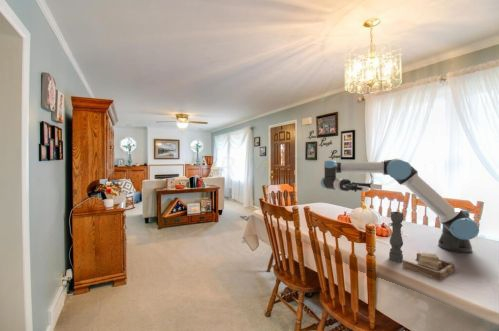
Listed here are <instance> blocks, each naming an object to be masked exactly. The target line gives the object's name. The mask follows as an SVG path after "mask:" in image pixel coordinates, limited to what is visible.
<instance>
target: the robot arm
mask: <svg viewBox="0 0 499 331" xmlns="http://www.w3.org/2000/svg"><path fill="white" fill-rule="evenodd" d="M323 169H324V177H322V178H321V181H320V185H321V187H322V188H323V189H327V190H334V191H335V190H336V191H338V192H340V191H344V192H349V191H354V193H355V192H357V191H359V192H366V193H368V192H369V191H370V190H369V189H372V190H373V189H374V190H382V189H383V185H382V184H379V183H378V184H377V183H372V182H370V183H369V182H353V181H352V182H351V180H350V179H348V178H345V179H344V178H340V177H339V178H337V174H382V175H384V176H390V177H391V178H392V179H394V180H395V181H396V182H397V183H398V184H399V185H400V186H405V187H406V188H407V189H408V190H409V191H411V192H412V194H414V195H415V197H417V198H418V199H419V200H420V201H421V202H422V203H423V204H424V205H425V206H426V207H428V209H430V210H431V211H432V212H433V213H434V214H435V215H436V216H437V217H438V218H439V222H440V224H442V226H441V227H442V228H441V230H442V232H441V234H440V237H439V239H438V242H437V244H438V247H440V248H442V249H445V250H448V251H451V252H457V253H464V254H465V253H467V254H468V253H469V254H470V253H472V251H473V246H472V244H471V241H470V240H473V239H475V238H476V237H477V236H478V235H479V233H480V228H479V224H477V222H476V221H475V220H473V219H472V218H470V212H469V210H466V209H461V208H455V207H454V206H453V205H451V204H450V203H449V202H448V201H447V200H446V199H445V198H443V196H442V195H440V193H438V192H437V191H436V190H435V189H433V188H432V187H431V186H430V184H428V183H427V182H426V181H424V179H423V178H421V177H420V176H419V171H418V170H417V169H416V168H415V167H413V166H412V165H411V164H410V162H408V161H407V160H406V159H402V158H393V159H385V160H384V159H383V160H382V161H356V162H355V161H353V162H352V161H351V162H349V161H348V162H347V161H345V162H344V161H343V162H337V161H336V160H333V159H331V160H327V159H326V160H325V161H324V168H323Z"/></svg>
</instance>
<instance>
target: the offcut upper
mask: <svg viewBox="0 0 499 331" xmlns="http://www.w3.org/2000/svg"><path fill="white" fill-rule="evenodd" d="M418 253H419V259H420V260H421V261H422V262H429V263H437V264H438V262H439V260H440V259H439V258H440V257H439V256H438V255H437V254H436V253H429V252H421V251H418Z"/></svg>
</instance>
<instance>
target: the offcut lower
mask: <svg viewBox="0 0 499 331" xmlns="http://www.w3.org/2000/svg"><path fill="white" fill-rule="evenodd" d="M418 265H420V266H423V267H426V268H429V269H432V270H435V271H438V270H440V269H441V268H443V267H442V262H440V261H439V262H438V264H437V263H429V262H422V261H421V260H420V259H419V260H418Z"/></svg>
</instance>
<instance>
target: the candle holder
mask: <svg viewBox="0 0 499 331" xmlns="http://www.w3.org/2000/svg"><path fill="white" fill-rule="evenodd" d="M390 220H391V224H390V225H391V226H392V228H391V229H392V232H391V234H390V238H389V244H390V246H391V248H390V249H389V253H388V254H389V257H388V259H389V260H390V261H391V260H392V261H391V262H394V261H395V263H403V260H404V255H403V250H402V247H403V245H404V240H403V237H402V227H403V224H402V223H403V221H404V213H403V212H400V211H390Z"/></svg>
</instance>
